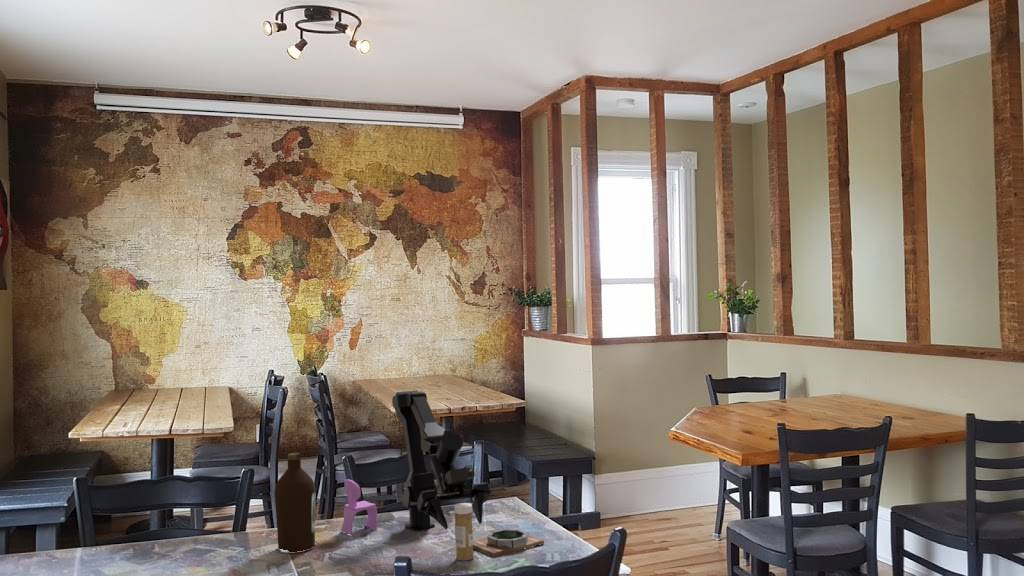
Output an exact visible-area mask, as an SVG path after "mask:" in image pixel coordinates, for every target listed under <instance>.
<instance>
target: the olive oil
mask: <svg viewBox="0 0 1024 576" xmlns="http://www.w3.org/2000/svg"><path fill="white" fill-rule="evenodd" d="M287 458H288V459H287V469H286V470H285V472H284V473H283V474H282V475H281V477H280V478H279V479H278V480H277V482H276V483H275V486H274V492H273V493H274V495H273V496H274V504H275V518H276V532H277V534H276V535H277V545H278V546H277V548H279V549H283V550H288V551H289V552H297V551H303V550H307V549H310V548H312V547H314V546H316V498H317V497H316V495H317V491H316V490H317V489H316V485H315V482H314V480H313V478H312V477H311V476H310V475H309V474H308V473H307V472H306V471H305V470H304V469H303V468H302V458H301V453H299V452H292V453H288V454H287ZM314 548H315V547H314ZM279 549H278V550H279Z"/></svg>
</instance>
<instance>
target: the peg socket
mask: <svg viewBox="0 0 1024 576" xmlns="http://www.w3.org/2000/svg"><path fill="white" fill-rule="evenodd" d="M528 533H529V532H527V531H524V530H521V529H517V528H515V529H512V528H510V529H509V528H508V529H507V528H503V529H502V528H501V529H499V530H494V531H490V532H489V534H487V537H486V538H487V540H488V545H490V546H493V547H495V548H516V547H520V546H524V545H526V543H527V541H528V535H529V534H528Z"/></svg>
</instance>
